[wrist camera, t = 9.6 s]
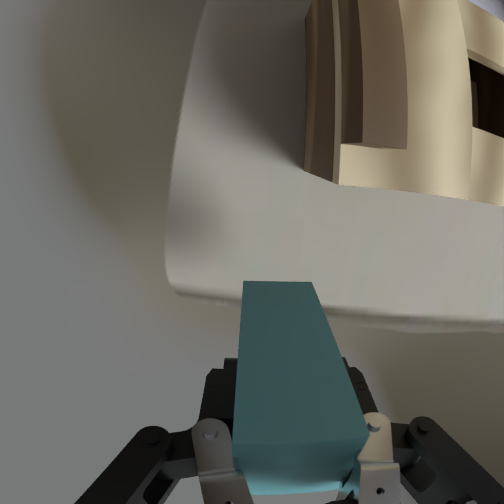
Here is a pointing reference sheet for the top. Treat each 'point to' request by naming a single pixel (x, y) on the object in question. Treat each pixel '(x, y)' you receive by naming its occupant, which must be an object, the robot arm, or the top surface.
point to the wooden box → (323, 92)
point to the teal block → (292, 394)
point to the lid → (414, 97)
